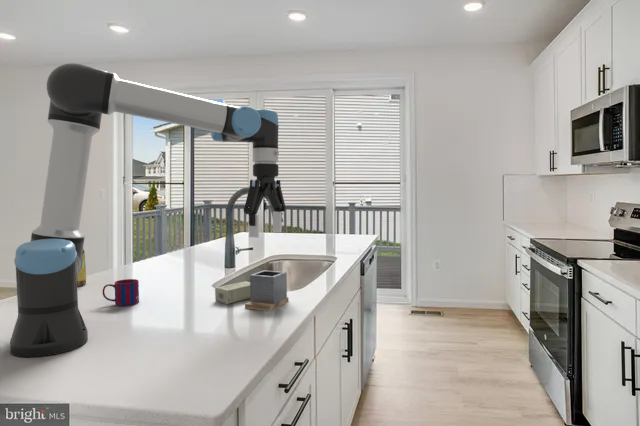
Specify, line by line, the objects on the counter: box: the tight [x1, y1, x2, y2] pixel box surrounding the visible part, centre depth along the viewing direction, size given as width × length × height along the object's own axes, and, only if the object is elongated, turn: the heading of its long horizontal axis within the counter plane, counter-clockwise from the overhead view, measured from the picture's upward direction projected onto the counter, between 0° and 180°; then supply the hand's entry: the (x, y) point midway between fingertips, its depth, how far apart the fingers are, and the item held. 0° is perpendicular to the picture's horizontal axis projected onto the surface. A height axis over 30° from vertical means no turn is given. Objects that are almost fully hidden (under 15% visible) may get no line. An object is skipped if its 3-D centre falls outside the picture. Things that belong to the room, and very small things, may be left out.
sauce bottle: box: [77, 249, 87, 287], centre depth 164 cm, size 7×6×20 cm
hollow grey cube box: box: [249, 269, 288, 304], centre depth 138 cm, size 8×8×8 cm
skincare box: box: [214, 280, 250, 305], centre depth 144 cm, size 6×4×12 cm
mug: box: [102, 278, 140, 307], centre depth 139 cm, size 7×10×7 cm
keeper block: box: [244, 296, 289, 312], centre depth 137 cm, size 12×8×6 cm, turn 156°
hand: (266, 234), depth 137 cm, fingers open, 13 cm apart
